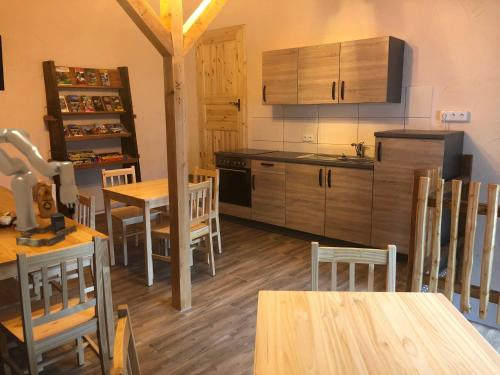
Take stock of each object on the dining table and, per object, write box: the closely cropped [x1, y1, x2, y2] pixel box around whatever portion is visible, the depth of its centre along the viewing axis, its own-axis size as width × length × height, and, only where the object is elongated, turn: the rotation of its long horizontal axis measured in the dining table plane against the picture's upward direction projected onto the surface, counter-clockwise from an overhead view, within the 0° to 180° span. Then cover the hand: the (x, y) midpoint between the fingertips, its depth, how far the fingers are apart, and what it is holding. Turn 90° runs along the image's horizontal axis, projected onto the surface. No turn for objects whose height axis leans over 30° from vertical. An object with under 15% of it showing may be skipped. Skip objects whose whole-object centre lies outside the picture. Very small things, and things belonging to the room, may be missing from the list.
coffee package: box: [37, 180, 57, 219], centre depth 269 cm, size 10×12×22 cm
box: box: [49, 212, 67, 236], centre depth 236 cm, size 8×6×11 cm
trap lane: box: [15, 223, 77, 248], centre depth 229 cm, size 24×27×4 cm
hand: (72, 213), depth 246 cm, fingers closed
